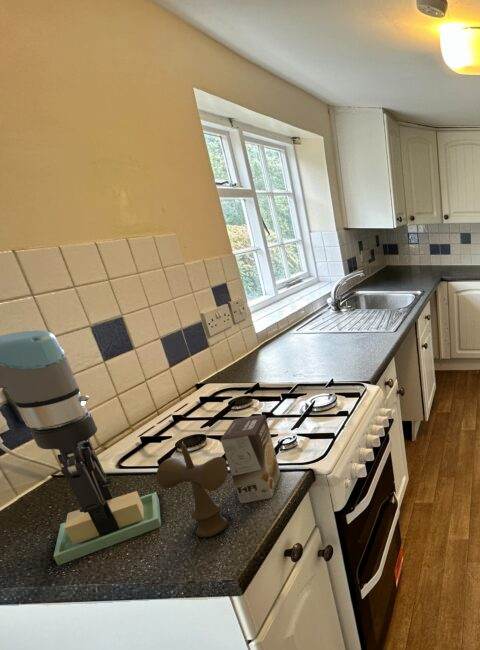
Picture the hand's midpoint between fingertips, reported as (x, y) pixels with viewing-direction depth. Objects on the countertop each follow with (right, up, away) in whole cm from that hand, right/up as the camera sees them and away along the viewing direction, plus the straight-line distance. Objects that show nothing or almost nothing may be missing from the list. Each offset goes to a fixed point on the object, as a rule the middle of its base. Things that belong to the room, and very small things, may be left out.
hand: (110, 523), depth 80 cm
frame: (0, -1, +1) cm, 2 cm away
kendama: (+20, -2, 0) cm, 20 cm away
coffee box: (+22, +3, +12) cm, 26 cm away
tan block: (0, 0, 0) cm, 0 cm away
